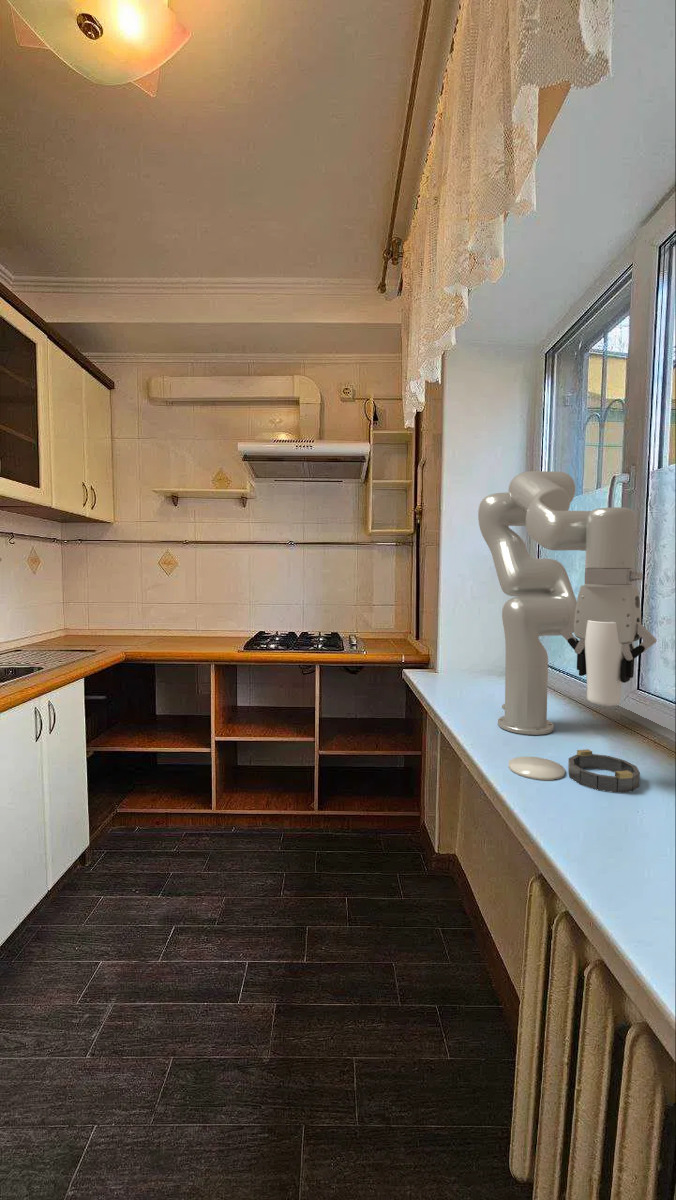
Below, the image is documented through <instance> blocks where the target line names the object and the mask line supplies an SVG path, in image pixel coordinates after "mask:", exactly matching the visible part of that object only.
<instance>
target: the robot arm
mask: <svg viewBox="0 0 676 1200" xmlns="http://www.w3.org/2000/svg"><path fill="white" fill-rule="evenodd" d="M575 494H576V484H575V481H574V479H573V478H572V476H571V475H570V474H569V473H566V472H564V471H542V470H541V471H539V470H538V471H536V470H534V471H533V470H530V471H524V472H521V473H519V474H517V475H515V476H514V477H513V478H512V480H511V481H510V482H509V485H508V492H497V493H495V492H494V493H492V494H488V495H487V496H485V497H483V498H482V500H481V501H480V503H479V506H478V513H477V514H478V515H477V516H478V517H477V518H478V525H479V530H480V532H481V535H482V537H483V539H484V541H485V544H486V545H487V546H488V548H489V549H488V550H489V551H490V553H491V556H492V560H493V563H494V568H495V572H496V574H497V578H498V583H499V585H500V588H501V590H502V592H503V593H504V594H505V595H506V596H509V597H512V598H510V599H508V600H507V601H506V602H505V603H504V605H503V606H502V610H501V617H502V625H503V633H504V639H505V640H504V641H505V644H504V645H505V674H504V675H505V682H504V685H505V686H504V703H503V704H502V705H501V709H502V710H504V715H503V716H501V717H499V718H498V720H497V725H498V726H499V727H500V728H501V729H503V730H505V731H508V732H510V733H511V732H512V733H515V734H520V735H529V736H534V735H535V736H537V735H538V736H539V735H546V734H551V733H552V732H554V729H555V725H554V723H552V722H551V721H550V720H548V719H547V718H548V716H547V715H548V684H549V683H548V681H549V679H548V678H549V676H548V675H549V674H548V673H549V655H548V652H547V650H546V648H545V646H544V645H543V644H542V642H541V641H540V639H539V637H547V636H548V637H550V636H553V637H554V636H562V637H563V638H564V639H565V641H567V643H568V644H569V646H570V647H571V648H572V649H573V650H574V653H575V654H576V670H577V671H578V676H579V677H583V676H586V659H585V637H586V629H587V622H588V620H590V621H597V622H615V623H616V625H617V632H618V640H619V643H621V644H622V652H623V654H624V659H623V660H622V661H621V679H620V681H622V683H624V684H625V683H627V682H629V681H631V679H632V678H634V673H635V659H636V658H637V657H639V656H640V655H641V654H643V653H645V651H647V650H648V649H649V648H651V647H652V646H653V645H654V644H656V643H657V640H658V639H657V638H656V637H655V636H654V635H653V634H652V633H651V632H650V631H649V630H648V629H647V628H645V626H644V625H643V624H642V609H641V599H640V592H639V587H638V586H633V584H634V582H636V581H642V580H643V579H642V578H643V573H642V572H638V571H635V568H634V555H635V553H634V552H635V551H634V550H635V532H636V514H635V511H634V510H632V509H631V508H628V507H621V506H619V507H618V506H617V507H615V506H613V507H602V508H601V507H600V508H595V509H592V510H569V509H570V505H571V503H572V501H573V500H574V497H575ZM510 527H526V531H527V534H528V535H529V537H530V538H531V539H532V540H534V542H535V543H536V544H538V545H539V546H541V547H542V548H543V549H546V550H551V551H580V552H581V551H584V552H585V560H584V561H585V562H584V564H585V565H584V584H583V585H582V584H581V585H580V588H579V591H578V594H577V598H576V595H575V593H574V589H573V587H572V583H571V581H570V578H569V575H568V573H567V570H566V568H565V567H564V565H563V564H562V563H561V562H560V561H558V560H556V559H552V558H535V557H534V558H533V557H531V556H530V554H529V551H528V549H527V545H526V543H525V542H524V540H523V538H522V537H521V536H520V535H518V533H517V532H515V531H514V530H513V529H511V528H510ZM641 638H642V642H641V643H640V644H638V645H637V646H636V647H635V646H634V643H633V642H636V641H639V640H640V639H641Z"/></svg>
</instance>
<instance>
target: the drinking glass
mask: <svg viewBox="0 0 676 1200" xmlns="http://www.w3.org/2000/svg"><path fill="white" fill-rule="evenodd" d="M585 659H586V675H585V676H586V699H587V701H588V702H590V703H592V704H595V705H598V706H607V707H608V706H609V707H610V706H616V705H618V704H620V703H621V690H622V683H623V682H622V681H620V679H621V661H622V660H623V659H624V654H623V652H622V644H621V643H619V640H618V632H617V625H616V623H615V622H597V621H590V620H588V622H587V629H586V637H585Z"/></svg>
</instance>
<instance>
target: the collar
mask: <svg viewBox="0 0 676 1200" xmlns="http://www.w3.org/2000/svg"><path fill="white" fill-rule="evenodd" d="M567 765H568V766H567V769H568V771H567V773H568V777H569V779H571V780H572V779H573V780H572V781H574V782H575V781H576V783H577V784H578V783H579V784H578V785H581V786H584V787H587V788H590V789H592V788H593V790H595V789H596V791H600V790H605V791H604V792H607V791H612V792H611V793H614V792H621V793H630V792H629V791H632V792H634V791H636V790H637V789H638V788H640V781H641V779H640V778H641V773H640V770H639V768H638V766H637V765H635V764H633V763H631V762H629V761H627V760H625V759H623V758H618V757H614V756H611V755H604V754H599V753H598V754H595V753H593V751H592V750H590V749H588V748H587V749H576V754H574V755H572V756H570V757H569V758H568V764H567ZM596 768H598V769H597V770H604V769H606V771H609V772H613V773H614V776H613V775H605V774H597V773H595V772H592V771H590V770H589V771H588V770H585V769H596ZM597 789H598V790H597Z"/></svg>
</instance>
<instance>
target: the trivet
mask: <svg viewBox="0 0 676 1200" xmlns="http://www.w3.org/2000/svg"><path fill="white" fill-rule="evenodd" d="M508 769H509V771H511V772H512V773H513V774H515V775H517V774H518V775H517V776H520V777H522V776H523V778H527V779H530V778H531V779H530V780H535V779H538V781H555V780H554V779H557V780H560V779H563V778H564V777H565V775H566V768H565V767H564V766H563V765H562V764H561V763H559V762H556V761H553V760H551V759H548V758H543V757H538V756H518V757H515V758H511V759H510V760H509V761H508ZM563 776H564V777H563ZM559 778H560V779H559Z"/></svg>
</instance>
